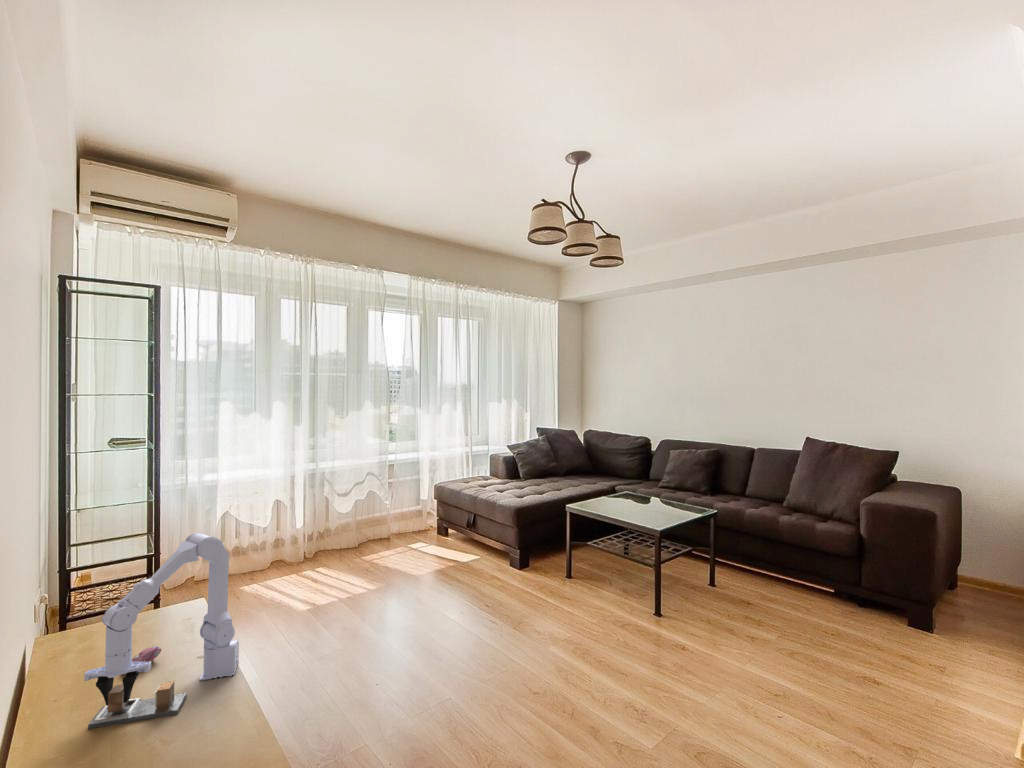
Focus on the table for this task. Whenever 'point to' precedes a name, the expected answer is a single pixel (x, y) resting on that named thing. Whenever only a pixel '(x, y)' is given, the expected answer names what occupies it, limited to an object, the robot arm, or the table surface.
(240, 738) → the table surface
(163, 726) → the table surface
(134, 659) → the video game controller
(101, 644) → the table surface
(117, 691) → the wooden block
